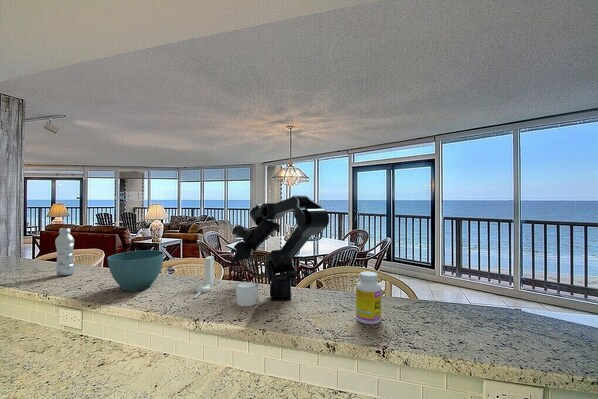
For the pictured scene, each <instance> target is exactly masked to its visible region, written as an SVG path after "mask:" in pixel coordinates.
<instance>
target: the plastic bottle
mask: <svg viewBox="0 0 598 399" xmlns="http://www.w3.org/2000/svg"><path fill="white" fill-rule="evenodd" d="M58 230H59V232H58V233H59V235H58V236H57V237H56V238H55V240H54V244H55V249H56V257H57V258H56V265H55V273H56V275H57V276H61V277H62V276H69V275H73V274H74V273H75V271H76V265H75V262H74V261H75V260H74V246H75V238H74V237H73V235H72V234H70V233H71V228H70V227H61V228H59V229H58Z"/></svg>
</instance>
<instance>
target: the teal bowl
mask: <svg viewBox="0 0 598 399" xmlns="http://www.w3.org/2000/svg"><path fill="white" fill-rule="evenodd" d="M164 258H165V252H164V251H162V250H157V249H155V250H151V249H150V250H149V249H148V250H147V249H146V250H145V249H144V250H133V251H126V252H121V253H116V254H112V255H110V256H107V266H108V268H109V271H110V274H111V276H112V278H113V279H114V281H115V282H116V283H117V284H118V285H119V287H120V288H122V289H123V290H124V291H126V292H138V291H143V290H146V289H149V288H150V287H151V286H152V285H153V284H154V282H155V280H157V278H158V276H159V274H160V272H161V271H162V267H163V264H164Z"/></svg>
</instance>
